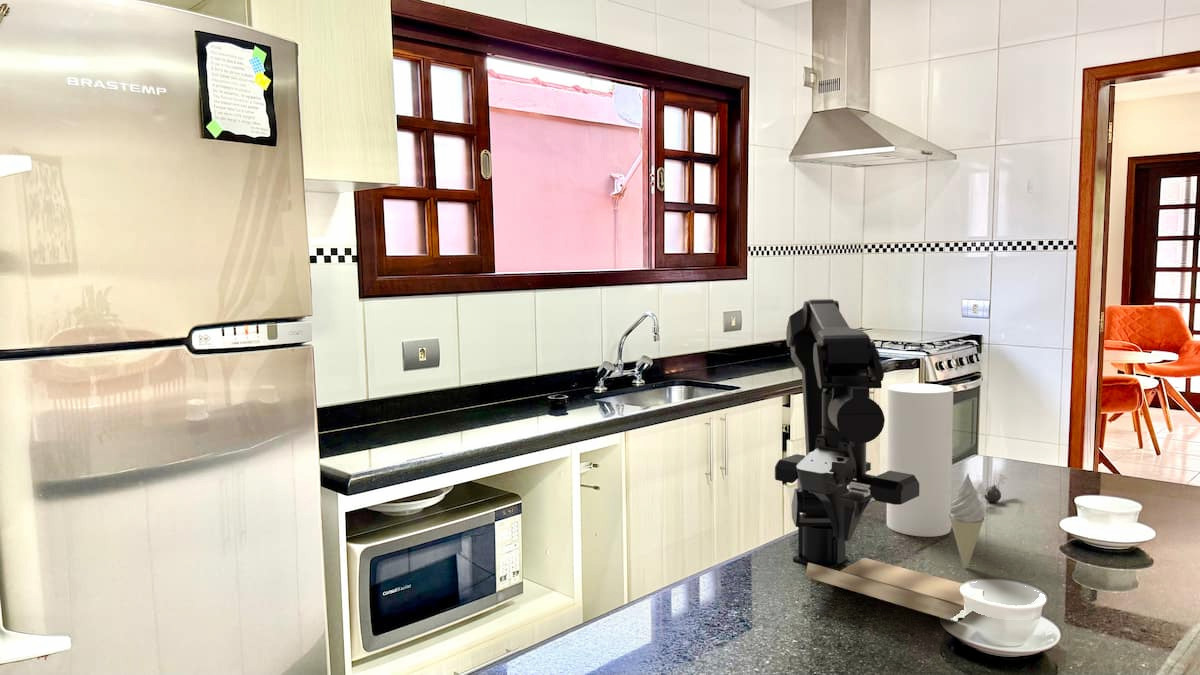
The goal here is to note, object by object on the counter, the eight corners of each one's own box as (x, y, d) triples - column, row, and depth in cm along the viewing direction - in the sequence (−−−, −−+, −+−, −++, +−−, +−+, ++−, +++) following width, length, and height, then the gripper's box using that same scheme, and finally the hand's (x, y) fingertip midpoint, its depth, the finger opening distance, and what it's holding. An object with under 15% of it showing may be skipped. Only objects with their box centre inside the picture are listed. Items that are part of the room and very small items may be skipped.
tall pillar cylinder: (964, 531, 143) (967, 389, 141) (916, 540, 139) (918, 394, 137) (920, 514, 153) (921, 381, 151) (873, 522, 149) (874, 386, 147)
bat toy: (965, 508, 156) (966, 484, 155) (1002, 493, 165) (1002, 470, 165) (981, 512, 153) (981, 487, 153) (1017, 496, 163) (1017, 472, 162)
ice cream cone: (968, 577, 123) (970, 479, 122) (940, 566, 128) (942, 471, 126) (991, 570, 125) (993, 474, 124) (962, 560, 130) (964, 467, 128)
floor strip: (838, 584, 122) (838, 571, 121) (863, 570, 127) (864, 557, 127) (961, 620, 109) (961, 606, 109) (984, 603, 114) (984, 589, 114)
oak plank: (804, 576, 115) (808, 562, 115) (835, 585, 121) (838, 572, 121) (931, 614, 102) (934, 598, 102) (958, 622, 108) (961, 607, 108)
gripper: (751, 427, 112) (752, 538, 113) (880, 447, 98) (879, 573, 100) (796, 415, 119) (796, 519, 121) (922, 432, 106) (920, 549, 107)
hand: (843, 539), depth 112 cm, fingers closed
